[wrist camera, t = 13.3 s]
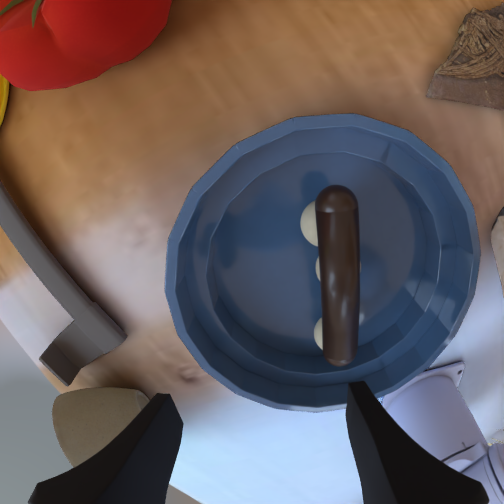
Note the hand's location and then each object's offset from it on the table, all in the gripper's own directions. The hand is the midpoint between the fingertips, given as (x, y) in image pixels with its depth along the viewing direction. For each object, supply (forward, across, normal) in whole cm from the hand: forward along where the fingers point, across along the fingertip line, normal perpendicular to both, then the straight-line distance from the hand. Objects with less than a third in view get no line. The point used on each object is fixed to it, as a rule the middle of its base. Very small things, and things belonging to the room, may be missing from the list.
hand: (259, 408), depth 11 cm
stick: (+6, -4, -2) cm, 8 cm away
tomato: (+9, +7, -20) cm, 23 cm away
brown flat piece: (+9, -24, -16) cm, 30 cm away
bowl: (+9, -4, -2) cm, 10 cm away
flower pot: (+7, +10, +9) cm, 16 cm away
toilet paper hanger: (+6, +19, -5) cm, 20 cm away
